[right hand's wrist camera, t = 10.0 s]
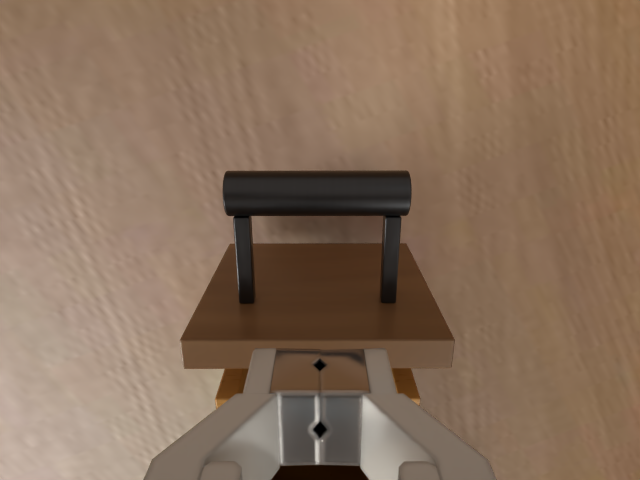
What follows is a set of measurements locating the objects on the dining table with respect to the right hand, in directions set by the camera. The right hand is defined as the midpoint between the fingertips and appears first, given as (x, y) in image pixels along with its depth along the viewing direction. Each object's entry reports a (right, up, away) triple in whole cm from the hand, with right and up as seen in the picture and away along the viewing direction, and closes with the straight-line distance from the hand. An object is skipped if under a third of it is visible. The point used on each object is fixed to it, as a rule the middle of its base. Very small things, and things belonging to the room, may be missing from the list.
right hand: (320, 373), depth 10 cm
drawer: (0, -4, +16) cm, 17 cm away
